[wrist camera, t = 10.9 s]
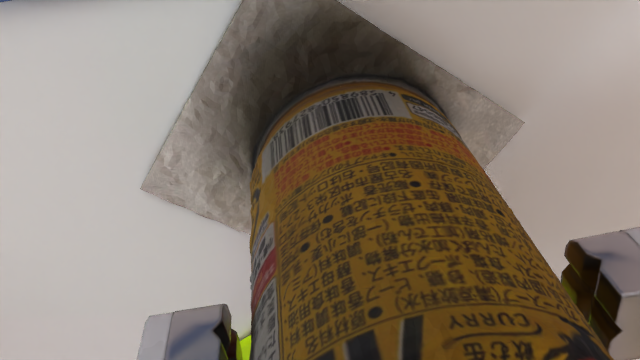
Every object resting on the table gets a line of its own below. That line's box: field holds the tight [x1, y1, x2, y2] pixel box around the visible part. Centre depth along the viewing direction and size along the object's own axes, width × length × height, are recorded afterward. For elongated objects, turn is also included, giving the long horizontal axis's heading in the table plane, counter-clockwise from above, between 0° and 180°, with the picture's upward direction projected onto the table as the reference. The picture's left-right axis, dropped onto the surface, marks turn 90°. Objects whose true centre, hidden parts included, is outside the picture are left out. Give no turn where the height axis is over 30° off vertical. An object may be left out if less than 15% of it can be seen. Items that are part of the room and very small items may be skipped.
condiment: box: [140, 0, 614, 360], centre depth 10 cm, size 7×8×12 cm
